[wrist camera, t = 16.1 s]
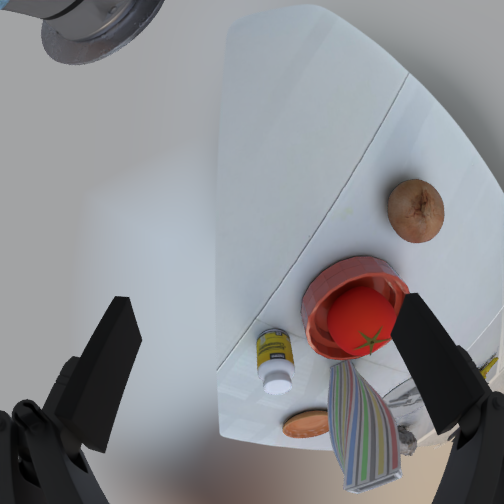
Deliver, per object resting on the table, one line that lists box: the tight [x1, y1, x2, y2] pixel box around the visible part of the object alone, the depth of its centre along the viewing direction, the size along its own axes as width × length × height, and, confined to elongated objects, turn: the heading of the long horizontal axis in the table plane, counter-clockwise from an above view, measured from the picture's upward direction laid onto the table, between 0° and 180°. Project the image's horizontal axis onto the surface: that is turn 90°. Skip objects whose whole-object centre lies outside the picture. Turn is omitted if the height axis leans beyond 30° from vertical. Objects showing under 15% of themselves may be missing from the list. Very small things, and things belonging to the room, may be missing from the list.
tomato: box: [327, 286, 396, 356], centre depth 42 cm, size 11×12×10 cm
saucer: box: [283, 411, 329, 438], centre depth 67 cm, size 16×16×3 cm
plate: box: [382, 378, 425, 419], centre depth 67 cm, size 28×28×1 cm
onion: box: [388, 179, 444, 243], centre depth 35 cm, size 10×9×10 cm
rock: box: [397, 427, 417, 456], centre depth 75 cm, size 16×10×15 cm, turn 26°
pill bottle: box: [257, 329, 295, 395], centre depth 46 cm, size 6×6×12 cm
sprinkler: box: [480, 357, 498, 384], centre depth 66 cm, size 19×8×20 cm
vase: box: [328, 359, 402, 494], centre depth 43 cm, size 14×14×30 cm
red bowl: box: [301, 257, 410, 360], centre depth 45 cm, size 19×19×6 cm
